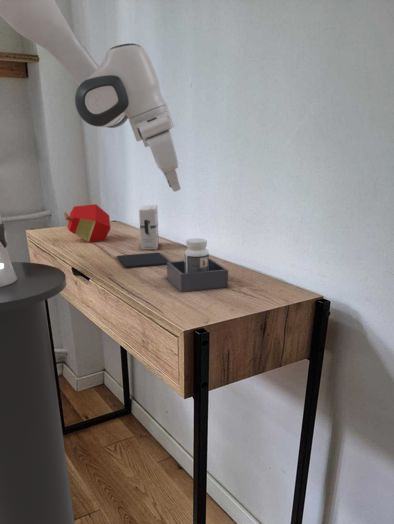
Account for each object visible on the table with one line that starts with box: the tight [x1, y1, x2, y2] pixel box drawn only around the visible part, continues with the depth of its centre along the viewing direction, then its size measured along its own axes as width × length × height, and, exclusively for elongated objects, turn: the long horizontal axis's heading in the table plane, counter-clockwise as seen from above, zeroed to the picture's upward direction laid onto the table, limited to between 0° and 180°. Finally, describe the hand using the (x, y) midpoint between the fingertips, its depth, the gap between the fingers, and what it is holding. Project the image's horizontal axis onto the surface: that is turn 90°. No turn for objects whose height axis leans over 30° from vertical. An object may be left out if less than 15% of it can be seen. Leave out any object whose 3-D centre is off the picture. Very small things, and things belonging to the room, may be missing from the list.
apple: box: [63, 203, 111, 243], centre depth 154 cm, size 12×12×15 cm
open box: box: [166, 258, 229, 293], centre depth 113 cm, size 11×11×4 cm
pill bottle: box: [183, 237, 210, 273], centre depth 111 cm, size 6×6×10 cm
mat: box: [116, 252, 170, 269], centre depth 132 cm, size 12×12×1 cm
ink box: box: [138, 204, 160, 251], centre depth 145 cm, size 8×5×12 cm, turn 0°
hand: (175, 188), depth 111 cm, fingers open, 8 cm apart
